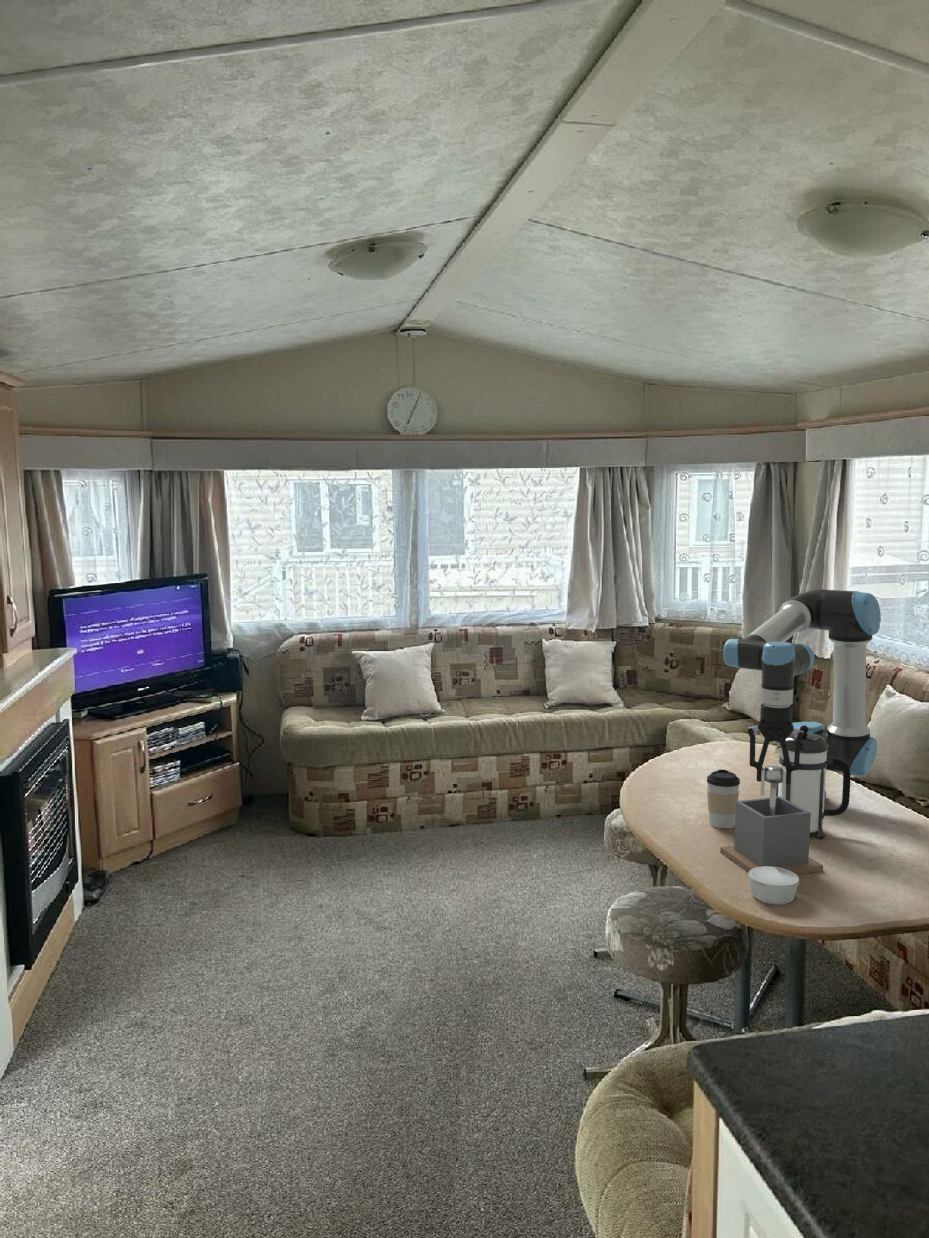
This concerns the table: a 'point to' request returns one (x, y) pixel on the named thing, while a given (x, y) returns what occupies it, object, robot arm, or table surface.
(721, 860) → the table surface
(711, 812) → the coffee cup
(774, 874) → the ramekin
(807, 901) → the table surface
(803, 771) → the coffee press
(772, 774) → the plunger
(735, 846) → the square grey bin
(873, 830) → the table surface
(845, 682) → the robot arm
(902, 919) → the table surface
